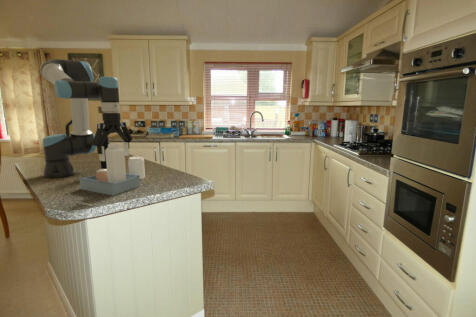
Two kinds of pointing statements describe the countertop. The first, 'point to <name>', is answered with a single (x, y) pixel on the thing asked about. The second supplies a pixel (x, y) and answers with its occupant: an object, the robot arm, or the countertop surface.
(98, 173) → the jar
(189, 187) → the countertop surface
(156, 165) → the countertop surface
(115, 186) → the tote
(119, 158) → the milk
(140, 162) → the beverage can
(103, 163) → the wine bottle
